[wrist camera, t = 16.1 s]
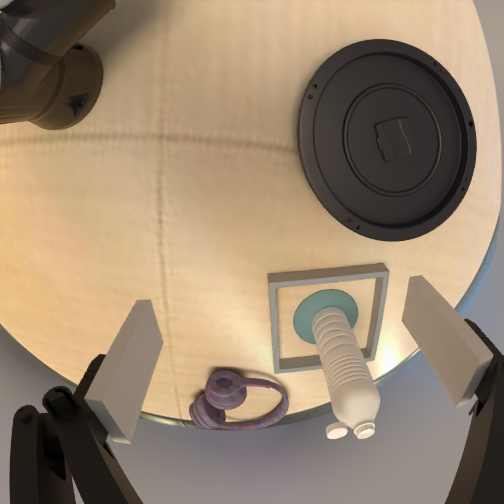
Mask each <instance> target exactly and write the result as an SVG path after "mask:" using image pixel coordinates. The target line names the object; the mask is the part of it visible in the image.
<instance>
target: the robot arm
mask: <svg viewBox="0 0 504 504" xmlns="http://www.w3.org/2000/svg"><path fill="white" fill-rule="evenodd" d="M121 1H122V0H0V11H2V12H1V14H0V124H6V123H14V122H22V121H29V122H31V123H33V124H35V125H37V126H39V127H41V128H43V129H48V130H59V129H66V128H69V127H71V126H73V125H75V124H77V123H78V122H79V121H81V120H82V119H83V118H84V117H85V116H86V115H87V114H88V113H89V111H90V110H91V109H92V107H93V105H94V104H95V102H96V100H97V98H98V95H99V93H100V89H101V85H102V79H103V70H102V64H101V61H100V58H99V56H98V55H97V53H96V52H95V51H94V50H93V49H92V48H91V47H89V46H87V45H84V44H82V43H79V42H78V41H79V40H80V39H81V38H82V37H83V36H84V35H85V34H86V33H87V32H88V31H89V30H90V29H91V28H92V27H93V26H94V25H95V24H96V23H97V22H98V21H99V20H100V19H101V18H102V17H103V16H105V15H106V14H107V13H108V12H109V11H110V10H111V9H115V8H116V7H117V6H118V4H119V2H121ZM402 322H403V323H404V325H405V326H406V328H407V329H408V331H409V332H410V334H411V335H412V337H413V338H414V340H415V341H416V343H417V344H418V346H419V348H420V349H421V351H422V352H423V354H424V355H425V357H426V358H427V360H428V362H429V363H430V365H431V366H432V368H433V370H434V371H435V373H436V375H437V376H438V378H439V380H440V381H441V383H442V385H443V386H444V388H445V390H446V391H447V393H448V395H449V396H450V398H451V400H452V402H453V403H454V405H455V407H459V406H462V405H464V404H466V403H469V401H470V400H471V398H472V397H473V395H474V393H475V394H476V396H477V397H478V399H477V401H476V402H475V404H474V405H473V407H472V409H471V411H470V412H469V415H471V413H472V412H473V416H472V421H471V425H470V429H469V433H468V437H467V440H466V444H465V448H464V451H463V455H462V458H461V461H460V464H459V467H458V470H457V473H456V476H455V479H454V482H453V484H452V487H451V490H450V492H449V495H448V497H447V500H446V502H445V504H504V355H502V354H501V353H500V352H499V350H498V349H497V348H496V347H495V345H494V344H493V343H492V342H491V341H490V340H489V338H487V337H486V335H485V334H484V333H483V332H481V329H480V328H479V327H478V326H477V325H476V324H475V323H473V322H472V321H470V320H468V319H463V318H462V317H461V316H460V315H459V314H458V313H457V312H456V311H455V310H454V308H453V307H452V306H451V305H450V304H449V303H448V302H447V301H446V300H445V299H444V298H443V297H442V296H441V295H440V294H439V293H438V291H437V290H436V289H435V288H434V287H433V286H432V285H431V284H430V283H429V282H428V281H427V280H426V279H425V278H424V277H423V276H422V275H421V276H413V277H410V278H409V285H408V290H407V296H406V301H405V306H404V311H403V316H402ZM163 343H164V342H163V339H162V336H161V333H160V330H159V326H158V323H157V320H156V316H155V313H154V310H153V306H152V303H151V300H137V301H136V303H135V304H134V306H133V308H132V310H131V311H130V313H129V315H128V317H127V318H126V320H125V322H124V324H123V325H122V327H121V329H120V331H119V333H118V334H117V336H116V338H115V340H114V342H113V343H112V345H111V347H110V349H109V351H108V353H107V355H104V354H99V355H98V356H97V357H96V358H95V359H94V360H92V361H91V363H90V365H89V367H88V369H87V371H86V372H85V374H84V376H83V378H82V380H81V381H80V383H79V385H78V387H77V389H76V391H75V393H74V395H73V394H72V393H71V391H70V390H69V388H67V387H65V386H57V387H54V388H52V389H50V390H49V391H48V392H47V393H46V394H45V395H44V397H43V399H42V405H43V406H44V407H45V409H46V410H47V411H48V413H39V412H38V411H37V409H36V408H35V407H34V406H32V405H26V406H23V407H21V408H20V409H18V410H17V412H16V413H15V415H14V419H13V427H12V437H11V451H10V504H76V501H75V495H74V489H73V482H72V477H73V479H74V481H75V484H76V486H77V489H78V491H79V493H80V495H81V498H82V500H83V502H84V504H143V502H142V501H141V499H140V498H139V496H138V495H137V493H136V492H135V490H134V488H133V487H132V485H131V484H130V482H129V480H128V479H127V477H126V475H125V474H124V472H123V470H122V468H121V467H120V465H119V463H118V461H117V459H116V458H115V456H114V454H113V452H112V450H111V448H110V446H109V444H108V443H107V442H106V439H107V436H108V434H109V435H110V436H111V438H112V439H113V440H114V441H116V442H122V443H128V444H131V441H132V438H133V434H134V431H135V427H136V424H137V421H138V418H139V415H140V412H141V408H142V405H143V402H144V399H145V396H146V393H147V390H148V387H149V384H150V381H151V378H152V375H153V372H154V369H155V366H156V363H157V360H158V357H159V354H160V351H161V348H162V346H163ZM71 474H72V475H71Z"/></svg>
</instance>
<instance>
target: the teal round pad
mask: <svg viewBox="0 0 504 504" xmlns="http://www.w3.org/2000/svg"><path fill="white" fill-rule="evenodd" d="M327 307H336V308H340V309H341V310H342V311H343V312H344V313H345V315H346V317H347V320H348V322H349V324H350V327H351V329H352V328H353V327H354V325H355V323H356V321H357V317H358V308H357V305H356V303H355V301H354V300H353V298H352V297H351V296H350V295H348V294H347V293H345V292H343V291H340V290H332V289H331V290H323V291H319V292H316V293H314V294H312V295H310V296H309V297H307V298H306V299H305V300H304V301H303V302H302V303H301V304H300V305H299V306H298V308H297V310H296V312H295V314H294V320H293V322H294V328H295V331H296V333H297V334H298V336H299V337H300V338H301V339H303V340H304V341H306V342H308V343H311V344H316V341H315V338H314V334H313V330H312V326H311V322H312V318H313V316H314V315H315V314H316V313H317V312H318V311H319V310H321V309H323V308H327Z"/></svg>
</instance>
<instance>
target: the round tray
mask: <svg viewBox="0 0 504 504" xmlns="http://www.w3.org/2000/svg"><path fill="white" fill-rule="evenodd" d="M297 143H298V150H299V156H300V160H301V164H302V167H303V170H304V173H305V176H306V178H307V180H308V182H309V185H310V187H311V188H312V190H313V192H314V194H315V195H316V197H317V198H318V200H319V201H320V202H321V204H322V205H323V206H324V208H325V209H326V210H327V211H328V212H329V213H330V214H331V215H332V216H333V217H334V218H335V219H336V220H337V221H339V222H340V223H341V224H343V225H344V226H345V227H347V228H348V229H350V230H352V231H354V232H355V233H358V234H360V235H362V236H365V237H368V238H371V239H375V240H380V241H390V242H393V241H405V240H410V239H414V238H417V237H420V236H422V235H425V234H427V233H429V232H430V231H432V230H434V229H435V228H437V227H438V226H440V225H441V224H442V223H443V222H445V221H446V220H447V219H448V218H449V217H450V216H451V215H452V214H453V212H454V211H455V210H456V209H457V207H458V206H459V204H460V203H461V201H462V200H463V198H464V196H465V194H466V192H467V190H468V188H469V185H470V183H471V180H472V176H473V173H474V168H475V162H476V152H477V141H476V131H475V125H474V120H473V116H472V113H471V110H470V107H469V105H468V102H467V100H466V98H465V96H464V94H463V92H462V90H461V88H460V87H459V85H458V84H457V82H456V81H455V79H454V78H453V77H452V76H451V74H450V73H449V72H448V71H447V70H446V69H445V68H444V67H443V66H442V65H441V64H440V63H439V62H438V61H437V60H435V59H434V58H433V57H431V56H430V55H428V54H427V53H425V52H424V51H422V50H420V49H418V48H416V47H414V46H412V45H409V44H406V43H403V42H399V41H394V40H388V39H372V40H365V41H360V42H357V43H354V44H351V45H349V46H346V47H344V48H343V49H341V50H339V51H337V52H336V53H335V54H333V55H332V56H331V57H329V58H328V59H327V60H326V61H325V62H324V63H323V64H322V65H321V66H320V67H319V69H318V70H317V71H316V72H315V74H314V75H313V77H312V78H311V80H310V82H309V84H308V86H307V88H306V90H305V92H304V95H303V98H302V101H301V104H300V109H299V114H298V121H297Z"/></svg>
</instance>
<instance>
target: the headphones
mask: <svg viewBox="0 0 504 504" xmlns="http://www.w3.org/2000/svg"><path fill="white" fill-rule="evenodd" d="M246 386H257V387H265V388H270V387H271V388H273V389H275V390H277V391H279V392H280V393H281V394H282V397H283V398H282V401H281V403H280V405H279V406H278V407H277V408H276V409H275V410H274V411H273V412H271V413H270V414H269V415H267V416H265V417H263V418H261V419H259V420H256V421H253V422H250V423H244V424H232V423H228V422H225V420H226V415H225V411H224V410H230V409H234V408H236V407H238V406H240V405H241V404H242V403H243V402H244V400H245V398H246V396H247V390H246ZM205 389H206V390H205V394H202V395H201V396H199V397H197V398H196V399H195V400H194V402H193V403H192V404H190V406H189V414H190V417H191V419H192V420H193V422H194V423H195V424H196V425H197V426H199V427H201V428H208V429H214V428H218V427H220V428H225V429H237V430H251V429H258V428H262V427H266V426H269V425H272V424H274V423H276V422H278V421H279V420H281V418H282V417H284V415H285V414H286V412H287V411H288V407H289V402H288V398H287V395H286V392H285V389H284V388H283V387H282V386H280V385H278V384H276V383H273V382H270V381H268V380H264V379H257V378H244V377H240V376H238V375H237V374H236V373H234V372H232V371H228V370H221V371H217V372H215V373H213V374H212V375H211V376H210V377H209V379H208V381H207V383H206V387H205Z"/></svg>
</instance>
